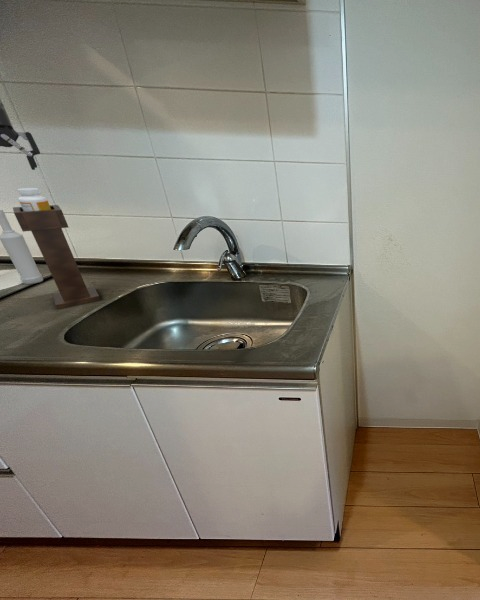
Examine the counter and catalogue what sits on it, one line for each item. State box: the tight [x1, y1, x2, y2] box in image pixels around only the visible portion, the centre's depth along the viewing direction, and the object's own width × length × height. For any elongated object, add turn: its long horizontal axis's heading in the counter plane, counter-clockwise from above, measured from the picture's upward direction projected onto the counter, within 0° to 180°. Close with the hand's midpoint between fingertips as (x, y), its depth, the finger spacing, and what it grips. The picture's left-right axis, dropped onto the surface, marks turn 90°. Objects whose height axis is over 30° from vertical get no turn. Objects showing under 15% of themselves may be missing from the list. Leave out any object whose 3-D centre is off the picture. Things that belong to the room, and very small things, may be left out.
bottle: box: [0, 209, 44, 285], centre depth 104 cm, size 5×5×25 cm
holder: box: [12, 204, 101, 310], centre depth 94 cm, size 10×10×29 cm
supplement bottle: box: [17, 187, 51, 211], centre depth 87 cm, size 5×5×10 cm
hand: (12, 169), depth 91 cm, fingers open, 8 cm apart
